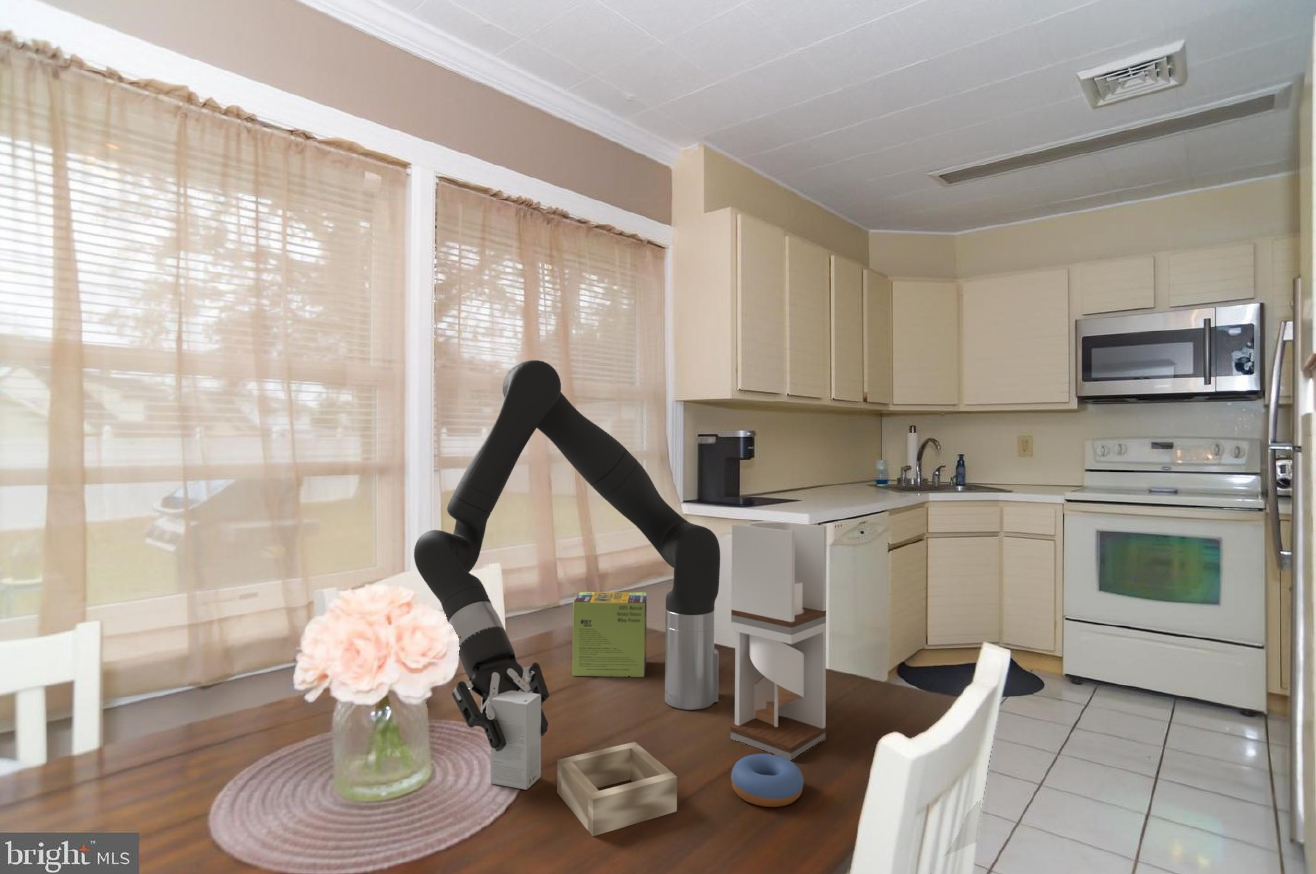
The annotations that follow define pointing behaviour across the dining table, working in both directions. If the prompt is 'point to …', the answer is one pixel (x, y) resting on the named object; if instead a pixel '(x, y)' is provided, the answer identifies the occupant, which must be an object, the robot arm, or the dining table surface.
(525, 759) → the skincare box
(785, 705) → the white shelf tower
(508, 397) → the robot arm
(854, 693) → the dining table surface
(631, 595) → the protein box
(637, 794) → the frame
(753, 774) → the doughnut
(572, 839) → the dining table surface
